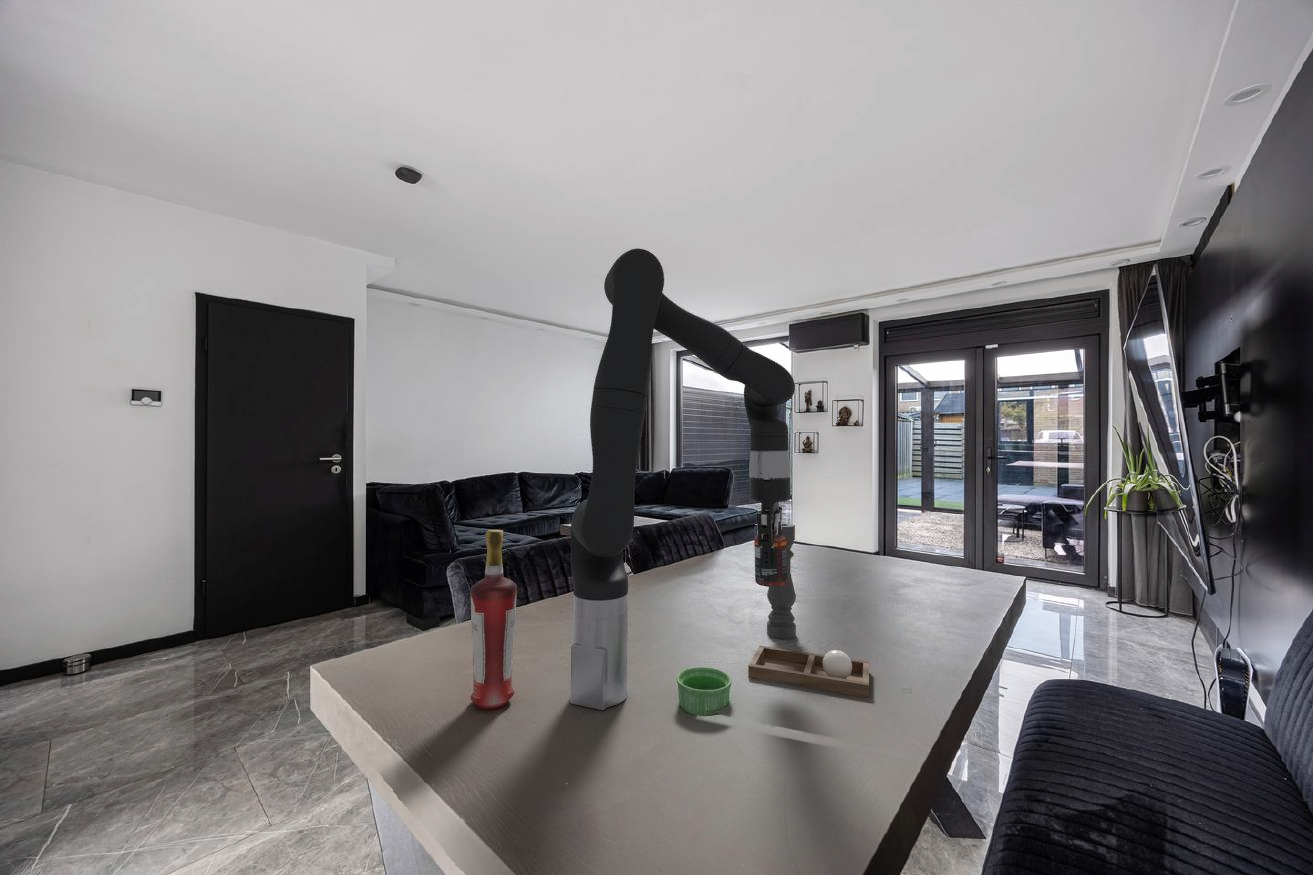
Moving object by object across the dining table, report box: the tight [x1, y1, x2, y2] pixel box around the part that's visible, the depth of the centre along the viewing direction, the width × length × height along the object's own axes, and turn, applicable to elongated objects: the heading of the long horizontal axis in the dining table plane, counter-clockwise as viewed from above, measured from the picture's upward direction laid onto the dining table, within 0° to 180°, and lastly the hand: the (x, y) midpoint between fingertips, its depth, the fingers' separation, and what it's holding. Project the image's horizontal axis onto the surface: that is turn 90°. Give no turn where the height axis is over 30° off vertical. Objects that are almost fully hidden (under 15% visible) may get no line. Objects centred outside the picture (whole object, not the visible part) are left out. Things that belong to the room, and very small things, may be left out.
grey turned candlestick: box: [766, 522, 797, 641], centre depth 117 cm, size 6×6×25 cm
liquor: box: [469, 529, 518, 711], centre depth 87 cm, size 7×7×28 cm
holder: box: [747, 645, 870, 699], centre depth 96 cm, size 10×20×3 cm, turn 68°
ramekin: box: [676, 666, 733, 717], centre depth 87 cm, size 9×9×4 cm
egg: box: [822, 649, 852, 679], centre depth 94 cm, size 5×5×5 cm
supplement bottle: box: [753, 523, 787, 588], centre depth 100 cm, size 6×6×11 cm
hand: (770, 564), depth 100 cm, fingers closed on supplement bottle, 6 cm apart
